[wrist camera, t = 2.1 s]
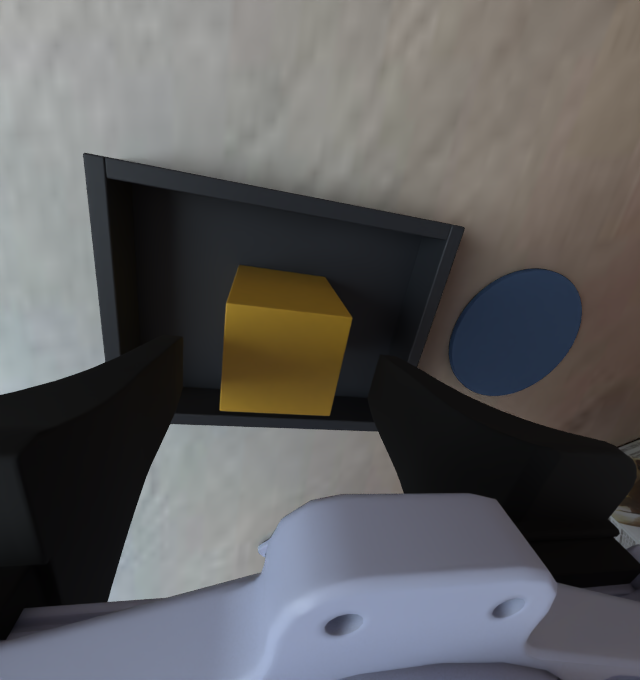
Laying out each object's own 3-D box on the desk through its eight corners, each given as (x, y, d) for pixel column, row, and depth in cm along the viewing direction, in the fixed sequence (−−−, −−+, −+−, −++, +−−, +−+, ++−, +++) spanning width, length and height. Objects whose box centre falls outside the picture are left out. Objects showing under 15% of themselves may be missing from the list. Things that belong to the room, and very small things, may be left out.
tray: (435, 221, 17) (465, 227, 14) (379, 403, 22) (395, 432, 19) (116, 158, 14) (81, 152, 11) (132, 389, 18) (111, 422, 16)
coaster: (589, 345, 22) (594, 347, 22) (477, 413, 24) (480, 417, 23) (558, 237, 19) (564, 238, 18) (426, 326, 20) (429, 328, 19)
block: (325, 276, 17) (353, 317, 12) (311, 351, 19) (330, 416, 13) (238, 264, 16) (225, 303, 11) (233, 344, 18) (219, 411, 12)
